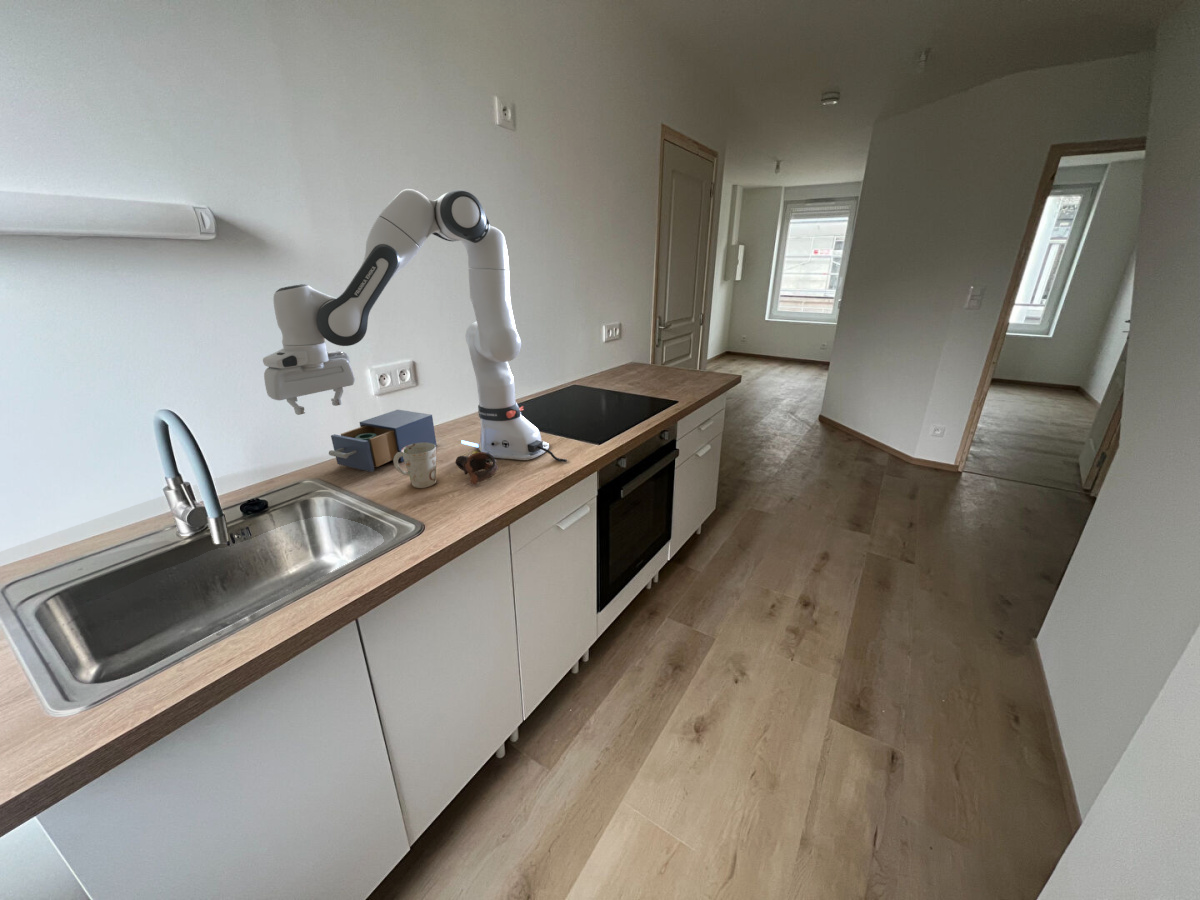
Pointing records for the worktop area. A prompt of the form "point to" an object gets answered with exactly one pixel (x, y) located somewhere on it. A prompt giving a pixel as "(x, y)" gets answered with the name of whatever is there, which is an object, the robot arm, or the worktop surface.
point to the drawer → (364, 448)
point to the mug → (418, 463)
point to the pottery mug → (477, 466)
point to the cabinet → (405, 427)
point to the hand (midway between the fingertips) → (319, 409)
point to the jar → (366, 438)
